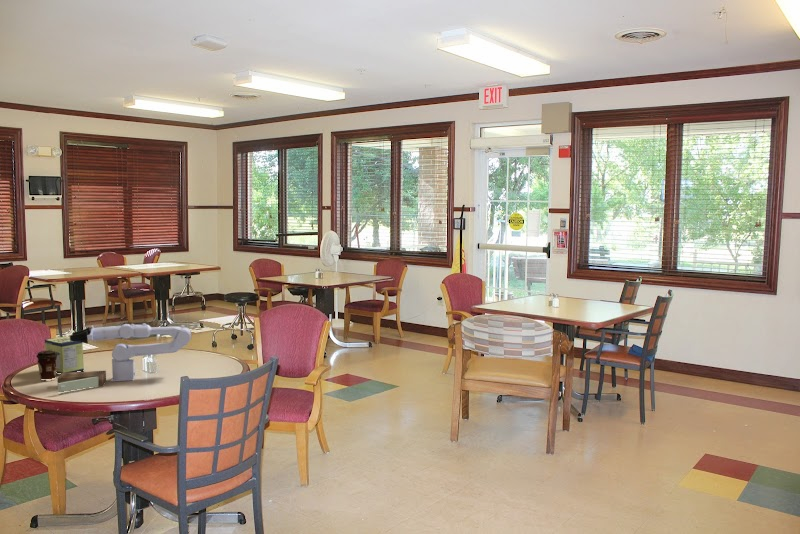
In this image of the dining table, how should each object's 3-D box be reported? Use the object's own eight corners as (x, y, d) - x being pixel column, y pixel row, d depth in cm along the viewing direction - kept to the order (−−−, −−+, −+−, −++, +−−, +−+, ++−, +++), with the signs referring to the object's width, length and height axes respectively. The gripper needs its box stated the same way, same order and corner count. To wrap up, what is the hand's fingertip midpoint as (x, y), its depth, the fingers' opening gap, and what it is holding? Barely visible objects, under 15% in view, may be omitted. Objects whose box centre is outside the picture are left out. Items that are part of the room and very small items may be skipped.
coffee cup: (35, 382, 301) (33, 354, 300) (39, 378, 309) (38, 350, 308) (56, 381, 303) (55, 353, 302) (60, 376, 311) (59, 349, 310)
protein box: (66, 367, 330) (65, 335, 329) (84, 371, 322) (83, 339, 320) (45, 371, 322) (43, 339, 320) (63, 376, 313) (61, 343, 312)
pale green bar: (98, 386, 294) (97, 376, 294) (100, 387, 293) (99, 377, 293) (58, 393, 283) (57, 383, 282) (59, 394, 282) (59, 384, 281)
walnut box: (106, 381, 304) (105, 370, 303) (102, 386, 295) (102, 375, 295) (62, 384, 299) (62, 373, 299) (57, 389, 291) (57, 378, 290)
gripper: (105, 322, 310) (73, 325, 306) (102, 327, 296) (68, 330, 292) (106, 337, 311) (74, 340, 307) (103, 342, 297) (69, 346, 293)
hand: (71, 336), depth 300 cm, fingers open, 7 cm apart
